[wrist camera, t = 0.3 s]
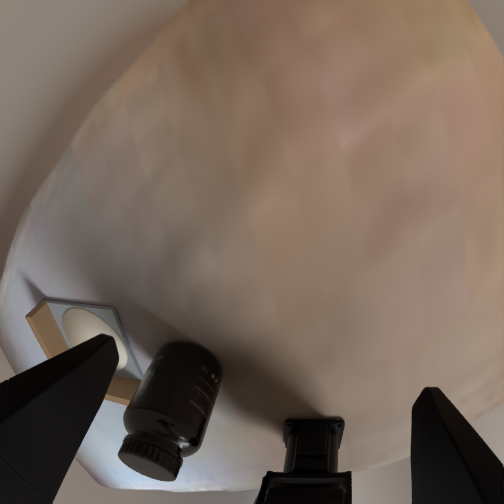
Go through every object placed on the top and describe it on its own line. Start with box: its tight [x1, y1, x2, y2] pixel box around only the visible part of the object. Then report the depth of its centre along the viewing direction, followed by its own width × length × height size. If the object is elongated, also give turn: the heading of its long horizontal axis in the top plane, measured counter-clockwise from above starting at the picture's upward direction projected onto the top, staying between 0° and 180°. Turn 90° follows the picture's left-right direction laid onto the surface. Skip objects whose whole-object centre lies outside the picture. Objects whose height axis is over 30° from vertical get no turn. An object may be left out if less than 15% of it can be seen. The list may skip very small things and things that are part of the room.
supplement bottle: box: [118, 342, 223, 482], centre depth 24 cm, size 7×7×12 cm
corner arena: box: [25, 299, 144, 406], centre depth 29 cm, size 11×11×4 cm
